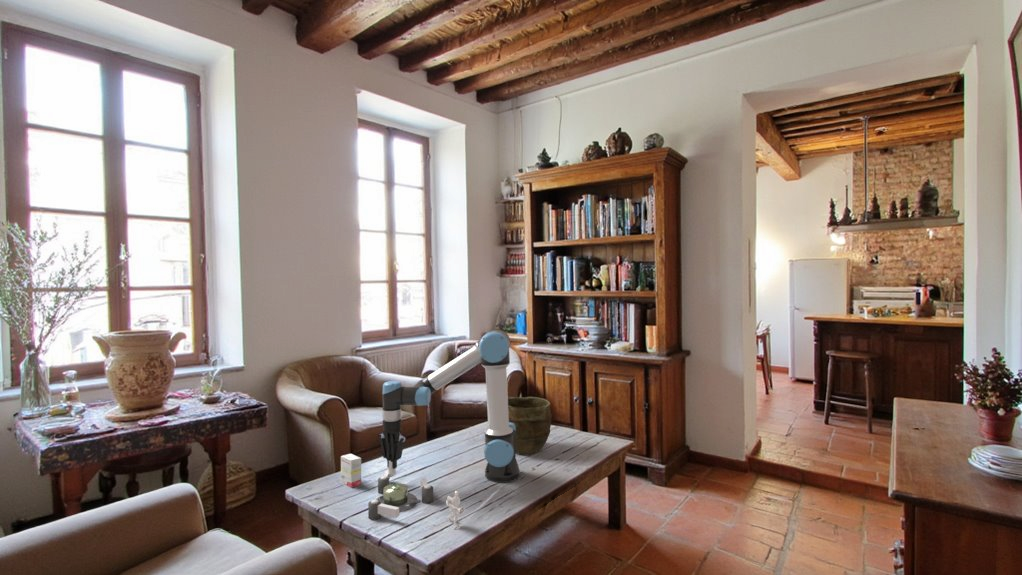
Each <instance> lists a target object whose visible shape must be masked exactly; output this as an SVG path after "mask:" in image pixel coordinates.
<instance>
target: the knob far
mask: <svg viewBox="0 0 1022 575" xmlns="http://www.w3.org/2000/svg"><path fill="white" fill-rule="evenodd" d="M390 478H391V477H389V469H386V470H385V471H384V474H383V475H382V476H381V477H378V479H377V493H378V494H380V495H383V489H384V487H385V486H387V485H390Z"/></svg>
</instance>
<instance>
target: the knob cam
mask: <svg viewBox="0 0 1022 575" xmlns="http://www.w3.org/2000/svg"><path fill="white" fill-rule="evenodd" d="M367 505H368V508H367V509H368V511H367V512H368V519H369V520H372V521H373V520H374V521H375V520H379V519H381V517H382V516H385V517H389V518H393V519H397V518H398V517H400V512H399V507H395V506H391V505H386V504H382V503H381V501H380V500H376V499H373V500H370V501H369V502H368V504H367Z"/></svg>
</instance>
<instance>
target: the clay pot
mask: <svg viewBox="0 0 1022 575" xmlns="http://www.w3.org/2000/svg"><path fill="white" fill-rule="evenodd" d="M508 413H509V422H511V423H514V424H515V427H516V455H519V456H530V455H532V454H536V453H538V452H540V451H541V450H542V449H543V448H544V447H545V445H546V443H547V441H548V439H549V436H550V434H551V428H552V427H551V426H552V416H553V414H552V412H551V402H550V401H549V400H548V399H546V398H541V397H537V396H525V397H524V396H520V397H519V396H510V397H508Z"/></svg>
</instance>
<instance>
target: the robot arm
mask: <svg viewBox="0 0 1022 575" xmlns="http://www.w3.org/2000/svg"><path fill="white" fill-rule="evenodd" d="M510 347H511V339H510V336H509V334H508V333H507V332H506V331H504V330H503V329H501V328H495V329H491V330H489V331H488V332H486V333H485V334H484V335H483V336H482V337H481V338H480V339H478V340H477V341H476V342H475V345H473V346H471V348H469V349H467V350H465V352H463V353H461V354H460V355H458V356H456V357H455V358H454V359H452V360H450V361H449V362H447V363H446V364H444V365H442V366H441V367H440V368H439V369H436V370H435V371H433V372H432V373H430V374H428V376H426V377H423V378H422V379H420V380H419V381H417V383H415V384H414V385H413V386H402V382H401V381H399V380H389V381H386V382H383V384H382V429H383V431H382V433H380V434H378V435H377V437H378V440H379V443H380V448H381V454H382V459H386V462H387V464H386V465H387V469H388V470H389V477H390V478H393V477H394V476H396V469H397V467H398V461H399V460H400V459H401V458H402V454H403V451H404V446H405V443H406V442H405V441H406V440H407V436H404V435H402V431H401V430H402V406H418V407H421V406H422V407H423V406H428V405H429V404H430V402H431V398H432V396H431V395H432V394H434V393H436V392H437V391H438V390H440V389H442V388H443V387H445V386H447V385H448V384H449V383H451V382H453V381H454V380H455V379H457V378H459V377H460V376H462V375H464V374H465V373H467V372H468V371H469V370H471V369H473V368H474V367H476V366H477V365H479V364H481V366H482V367H483V368H484V369H485V385H486V386H485V388H486V404H487V405H486V407H487V408H486V409H487V428H486V429H484V443H485V444H484V445H485V446H484V451H483V454H484V458H485V460H486V462H487V464H486V466H485V470H484V477H485V479H486V480H489V481H491V482H494V483H509V482H513V481H516V480H518V479H519V478H520V472H521V470H520V467H519V464H518V461H517V457H516V456H517V454H516V427H515V424H514V423H511V422H509V413H508V398H509V396H508V378H507V377H508V376H507V374H508V373H507V367H508V366H509V365H510V363H511V360H510V358H511V357H510Z"/></svg>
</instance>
